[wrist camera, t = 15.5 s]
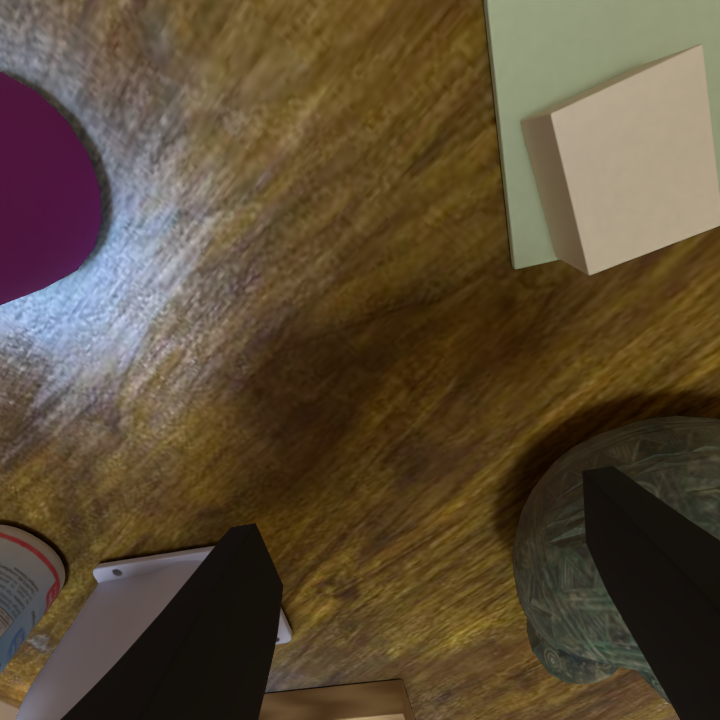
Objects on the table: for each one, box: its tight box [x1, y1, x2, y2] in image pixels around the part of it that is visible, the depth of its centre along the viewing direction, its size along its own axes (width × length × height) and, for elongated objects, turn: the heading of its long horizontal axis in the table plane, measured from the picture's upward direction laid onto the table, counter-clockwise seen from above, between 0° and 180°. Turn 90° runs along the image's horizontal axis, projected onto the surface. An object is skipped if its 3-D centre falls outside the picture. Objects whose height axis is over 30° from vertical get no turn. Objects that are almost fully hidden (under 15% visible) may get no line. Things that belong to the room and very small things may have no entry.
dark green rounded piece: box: [513, 415, 720, 705], centre depth 18 cm, size 15×15×10 cm
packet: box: [520, 44, 720, 275], centre depth 14 cm, size 4×5×3 cm
